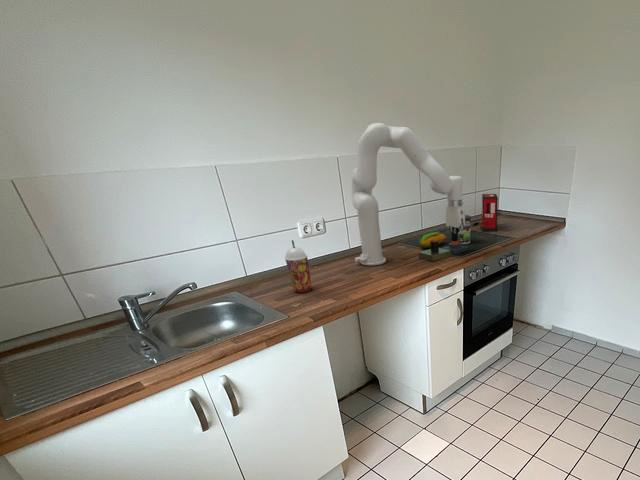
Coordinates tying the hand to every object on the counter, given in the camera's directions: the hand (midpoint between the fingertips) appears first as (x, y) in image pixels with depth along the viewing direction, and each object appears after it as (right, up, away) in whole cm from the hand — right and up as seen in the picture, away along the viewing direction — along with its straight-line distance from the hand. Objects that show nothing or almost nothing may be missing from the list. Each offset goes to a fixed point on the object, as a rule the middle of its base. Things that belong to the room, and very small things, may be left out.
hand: (454, 240), depth 201 cm
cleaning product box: (+23, +23, +50) cm, 60 cm away
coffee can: (+4, +5, +20) cm, 21 cm away
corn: (-12, +1, +13) cm, 18 cm away
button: (0, -2, +1) cm, 2 cm away
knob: (-10, -8, -8) cm, 15 cm away
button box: (0, -5, +3) cm, 6 cm away
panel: (-10, -10, -6) cm, 16 cm away
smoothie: (-63, -34, -44) cm, 84 cm away
